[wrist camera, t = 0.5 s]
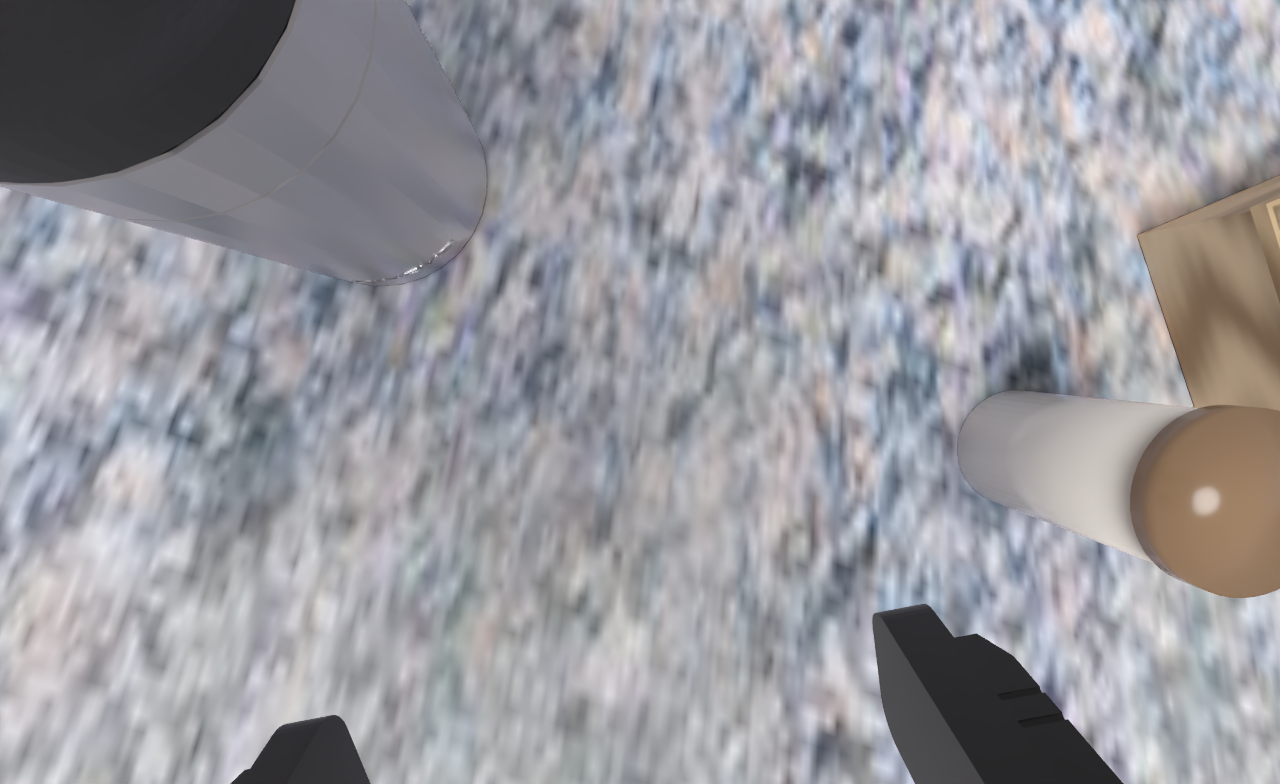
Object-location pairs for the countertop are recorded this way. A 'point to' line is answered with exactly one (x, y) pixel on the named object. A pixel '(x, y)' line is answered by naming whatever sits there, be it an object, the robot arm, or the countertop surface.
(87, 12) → the robot arm
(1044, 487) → the cream jar
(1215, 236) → the oak box
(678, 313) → the countertop surface
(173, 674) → the countertop surface
